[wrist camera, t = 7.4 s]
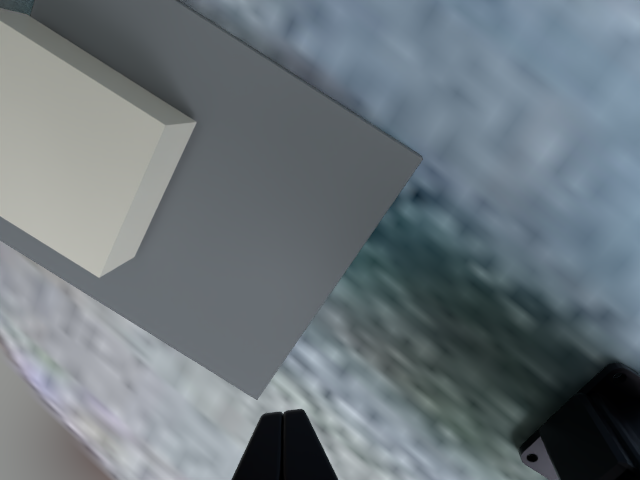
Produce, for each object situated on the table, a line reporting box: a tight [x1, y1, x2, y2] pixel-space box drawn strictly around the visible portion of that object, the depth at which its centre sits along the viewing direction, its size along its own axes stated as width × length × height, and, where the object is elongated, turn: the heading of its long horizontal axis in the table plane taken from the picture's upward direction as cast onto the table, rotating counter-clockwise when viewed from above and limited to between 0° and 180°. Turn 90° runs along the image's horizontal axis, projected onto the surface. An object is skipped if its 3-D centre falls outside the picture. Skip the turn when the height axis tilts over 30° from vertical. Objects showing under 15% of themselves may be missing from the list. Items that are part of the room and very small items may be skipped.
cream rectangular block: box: [0, 8, 197, 278], centre depth 18 cm, size 3×7×8 cm
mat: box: [0, 0, 423, 400], centre depth 19 cm, size 16×14×1 cm
